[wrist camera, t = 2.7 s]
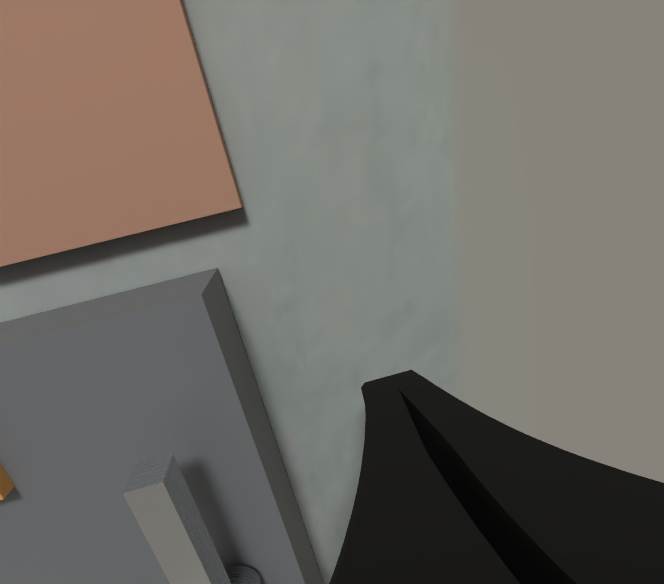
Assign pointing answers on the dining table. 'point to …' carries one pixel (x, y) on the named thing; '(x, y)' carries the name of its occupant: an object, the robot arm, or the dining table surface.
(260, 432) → the power strip
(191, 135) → the mat
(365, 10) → the dining table surface
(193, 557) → the clip
